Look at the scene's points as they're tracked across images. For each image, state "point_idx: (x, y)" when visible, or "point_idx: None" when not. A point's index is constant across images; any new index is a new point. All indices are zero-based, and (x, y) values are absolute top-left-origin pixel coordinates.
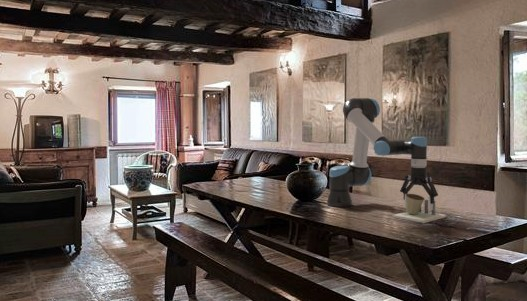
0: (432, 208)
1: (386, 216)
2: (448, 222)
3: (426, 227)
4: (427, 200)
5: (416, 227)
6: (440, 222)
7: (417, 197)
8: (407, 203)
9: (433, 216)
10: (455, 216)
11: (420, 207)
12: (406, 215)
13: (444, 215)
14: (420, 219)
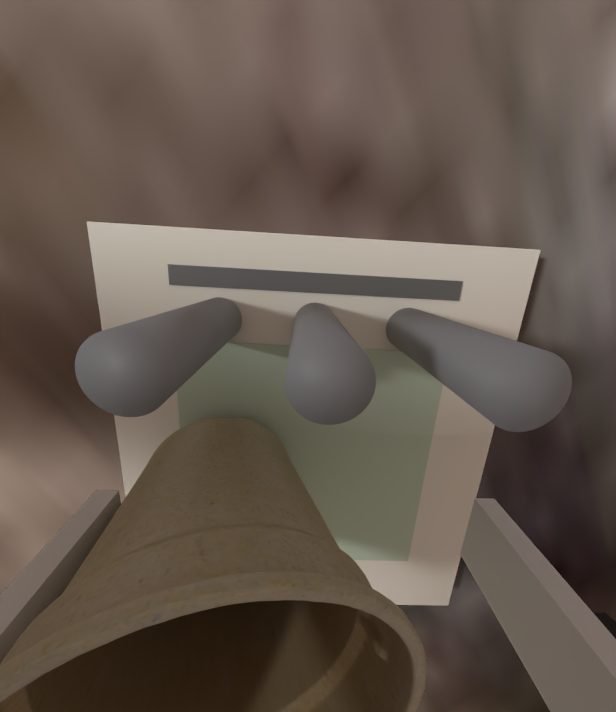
0: (504, 514)
1: None
2: (594, 459)
3: (498, 663)
4: (368, 395)
5: (447, 693)
6: (536, 498)
7: (148, 566)
8: (172, 664)
9: (451, 431)
10: (606, 121)
11: (224, 343)
12: None
13: (528, 288)
14: (409, 597)
